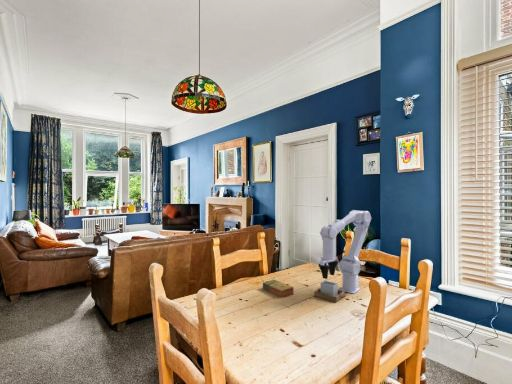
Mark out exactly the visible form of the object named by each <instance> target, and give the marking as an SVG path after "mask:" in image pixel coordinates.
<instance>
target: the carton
mask: <svg viewBox="0 0 512 384" xmlns="http://www.w3.org/2000/svg"><path fill="white" fill-rule="evenodd" d="M294 289H295V288H294V286H291V285H288V284H286V283H285V282H281V281H278V280H276V279H271V280H268V281H264V282H262V290H264V291H265V292H268V293H271V294H272V295H275V296H277V297H279V298H282V299H283V298H285V297H286V298H288V297H289V296H294Z"/></svg>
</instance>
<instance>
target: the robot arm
mask: <svg viewBox="0 0 512 384" xmlns="http://www.w3.org/2000/svg"><path fill="white" fill-rule="evenodd" d="M371 220H372V216H371V213H370V211H368V210H356V209H352V210H351V211H349V213H348V214H346V215H345V217H343V218H342V219H335V220H334V221H333V222H332V223H329V224H328V225H327V226H325V225H324V226H322V228H321V229H320V231H319V234H320V236H321V241H322V257H320V261H319V263H318V267H319V269H320V272H321V275H322V279H325V280H327V279H328V276H329V275H330V276H335V273H336V269H337V266H338V267H339V270H340V271H341V274H342V277H341V278H342V283H341V284H342V286H341V288H340V289H339V290H340V291H344V292H345V293H349V294H355V293H357V292H358V291H361V287H360V283H359V282H360V281H359V273H360V272H361V264H362V262H361V261H360V259H359V256H360V252H361V250H362V246H363V244H364V241H365V239H366V235H367V233H368V230H369V227H370V223H371ZM350 223H352V224H353V225H354V226H355V228H356V230H355V233H354V236H353V237H352V242H351V245H350V247H349V250H348V253H347V254H346V255H344V256H342V259H341V260H340V261H338V260H337V256H336V255H335V239H336V237H337V235H338V234H339V233H340V232H341V231H343V230H344V229H346V228H345V227H346V226H347V225H349V224H350ZM338 264H339V265H338Z"/></svg>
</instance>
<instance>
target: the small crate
mask: <svg viewBox="0 0 512 384" xmlns="http://www.w3.org/2000/svg"><path fill="white" fill-rule="evenodd" d="M338 285H339V283H336V282H332V281H329V280H324V281H322V282H320V288H321V293H324V294H328V295H332V296H335V297H336V296H337V295H338V290H339V286H338Z"/></svg>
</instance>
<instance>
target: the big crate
mask: <svg viewBox="0 0 512 384" xmlns="http://www.w3.org/2000/svg"><path fill="white" fill-rule="evenodd" d="M313 293H314V294H313V295H314V297H316V298H318V299H319V298H320V299H322V300H326V301H329V302H333V303H338V302H339V301H341V300H342V299H344V298H345V297H346V292H345V291H341V290H340V289H338V295H337V296H336V297H335V296H332V295H328V294H324V293H321V287H319V288H318V289H316V290H314V292H313Z"/></svg>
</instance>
